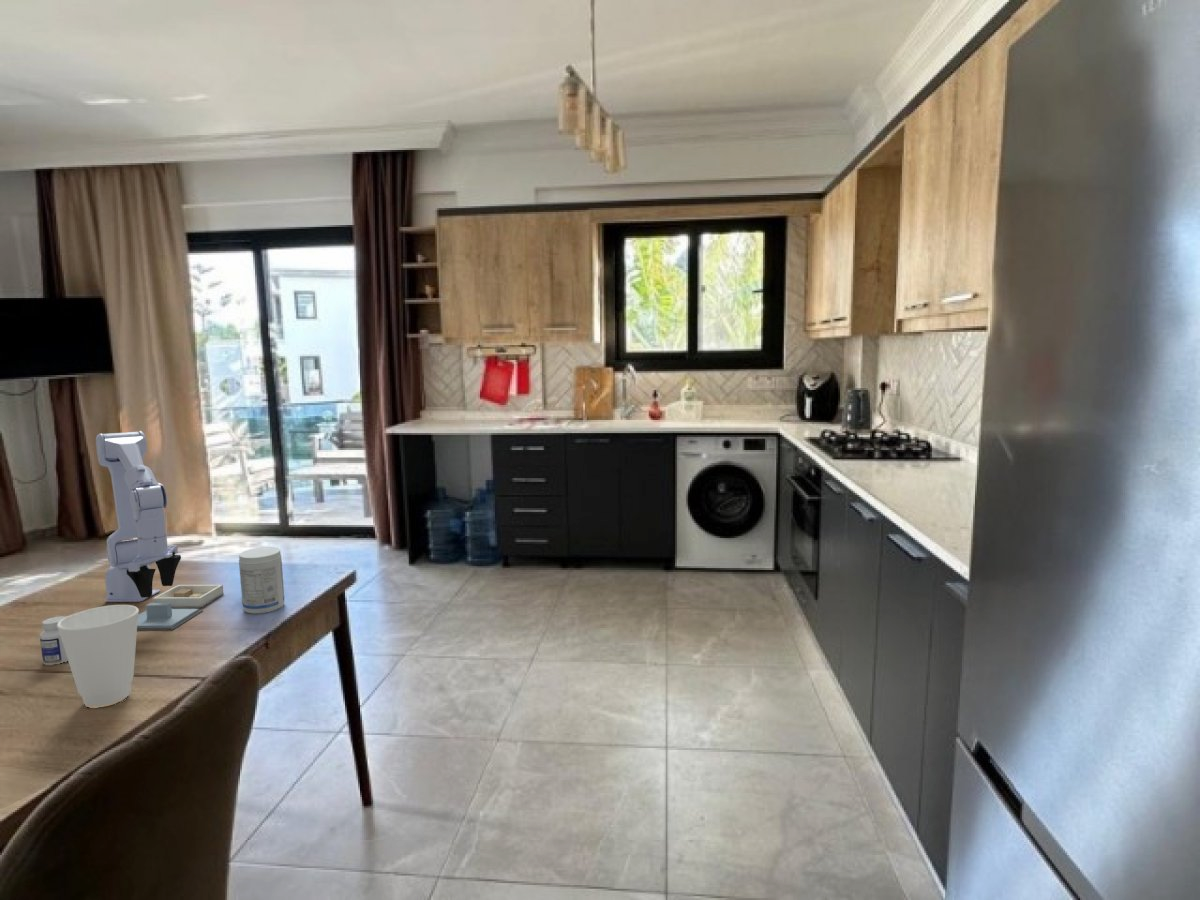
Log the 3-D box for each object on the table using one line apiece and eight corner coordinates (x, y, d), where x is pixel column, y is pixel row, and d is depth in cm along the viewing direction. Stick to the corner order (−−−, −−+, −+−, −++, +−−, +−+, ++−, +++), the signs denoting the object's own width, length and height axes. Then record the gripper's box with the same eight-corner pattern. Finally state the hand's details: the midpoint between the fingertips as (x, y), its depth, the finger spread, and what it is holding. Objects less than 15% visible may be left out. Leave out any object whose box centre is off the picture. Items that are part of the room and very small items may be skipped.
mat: (114, 630, 150) (114, 629, 150) (148, 611, 162) (148, 610, 162) (172, 630, 150) (172, 628, 150) (202, 611, 162) (202, 610, 162)
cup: (55, 722, 112) (45, 634, 110) (78, 690, 123) (69, 609, 121) (138, 707, 117) (129, 622, 114) (153, 678, 127) (145, 600, 125)
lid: (118, 628, 151) (116, 612, 151) (148, 611, 161) (147, 596, 161) (171, 627, 151) (170, 612, 151) (198, 611, 161) (197, 596, 161)
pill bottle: (67, 652, 139) (62, 613, 138) (81, 657, 137) (76, 617, 135) (37, 663, 134) (32, 622, 133) (51, 668, 132) (46, 626, 131)
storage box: (153, 608, 164) (152, 598, 164) (178, 594, 174) (177, 584, 174) (200, 608, 164) (200, 598, 164) (223, 594, 174) (222, 584, 174)
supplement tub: (255, 600, 169) (251, 546, 167) (291, 601, 169) (288, 546, 167) (234, 615, 160) (230, 557, 158) (273, 615, 159) (268, 557, 157)
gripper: (148, 544, 146) (153, 602, 148) (188, 528, 161) (192, 580, 163) (116, 544, 146) (122, 602, 148) (159, 528, 161) (164, 580, 162)
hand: (157, 591), depth 155 cm, fingers open, 7 cm apart
